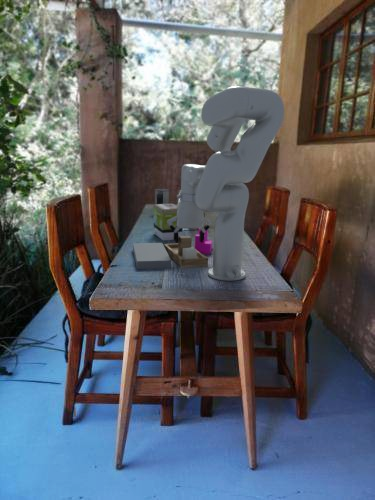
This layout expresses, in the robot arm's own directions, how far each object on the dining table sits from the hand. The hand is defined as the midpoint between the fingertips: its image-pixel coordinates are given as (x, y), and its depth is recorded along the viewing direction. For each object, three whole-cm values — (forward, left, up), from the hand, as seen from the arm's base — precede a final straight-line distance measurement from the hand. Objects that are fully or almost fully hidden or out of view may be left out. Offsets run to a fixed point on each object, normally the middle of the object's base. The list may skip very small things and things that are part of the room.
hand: (188, 242), depth 155 cm
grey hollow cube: (+100, -5, -7) cm, 100 cm away
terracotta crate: (+8, +49, -74) cm, 89 cm away
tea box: (+36, +3, -7) cm, 37 cm away
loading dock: (-1, +15, -6) cm, 16 cm away
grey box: (-8, +1, -5) cm, 9 cm away
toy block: (+12, -9, -7) cm, 16 cm away
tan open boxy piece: (-1, +2, -7) cm, 7 cm away
